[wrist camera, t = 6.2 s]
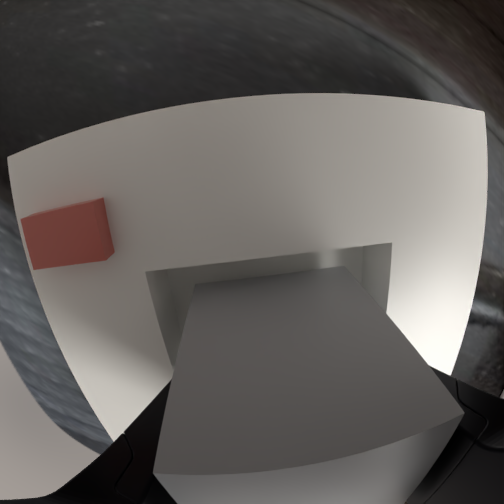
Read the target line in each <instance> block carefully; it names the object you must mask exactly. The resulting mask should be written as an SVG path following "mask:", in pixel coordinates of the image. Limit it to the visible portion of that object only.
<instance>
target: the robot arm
mask: <svg viewBox="0 0 504 504" xmlns="http://www.w3.org/2000/svg"><path fill="white" fill-rule="evenodd" d="M430 368H431V369H432V370H433V371H434V373H435V374H436V375H437V377H438V378H439V379H440V380H441V382H442V383H443V384H444V386H445V387H446V388H447V390H448V391H449V392H450V394H451V395H452V396H453V398H454V399H455V400H456V402H457V403H458V404H459V406H460V407H461V408H462V410H463V411H464V415H463V417H462V419H461V421H460V423H459V424H458V426H457V428H456V430H455V431H454V433H453V435H452V436H451V438H450V440H449V441H448V443H447V445H446V446H445V448H444V449H443V451H442V452H441V454H440V456H439V457H438V459H437V460H436V461H435V463H434V464H433V466H432V467H431V469H430V470H429V472H428V473H427V474H426V476H425V477H424V478H423V480H422V481H421V482H420V484H419V485H418V486H417V488H416V489H415V490H414V491H413V493H412V494H411V495H410V496H409V498H408V499H407V503H408V504H504V399H503V398H500V397H497V396H494V395H492V394H489V393H487V392H484V391H481V390H479V389H477V388H475V387H473V386H470V385H468V384H466V383H464V382H462V381H460V380H457V381H456V378H454V377H452V376H450V375H448V374H446V373H444V372H441V371H439V370H437V369H435V368H433V367H431V366H430ZM171 380H172V379H171ZM171 380H170V381H169V382H168V384H167V385H166V386H165V387H164V388H163V389H162V390H161V391H160V392H159V394H158V395H157V396H156V397H155V398H154V399H153V400H152V401H151V402H150V403H149V405H148V406H147V407H146V408H145V409H144V410H143V411H142V412H141V413H140V414H139V416H138V417H137V418H136V419H135V420H134V421H133V422H132V423H131V424H130V425H129V426H128V427H127V429H126V430H125V431H124V434H123V433H122V434H121V435H120V436H119V437H118V438H117V439H116V440H115V441H114V442H113V443H112V444H111V445H110V446H109V447H108V448H107V449H106V450H105V451H104V452H103V453H102V454H101V455H100V456H99V457H98V458H97V459H95V460H94V461H93V462H92V463H91V464H90V465H88V466H87V467H86V468H85V469H84V470H82V471H81V472H80V473H79V474H77V475H76V476H75V477H74V478H72V479H71V480H70V481H69V482H67V483H66V484H65V485H64V486H62V487H61V488H60V489H58V490H57V491H55V492H53V493H51V494H49V495H47V496H43V497H38V498H29V499H14V500H0V504H177V502H176V501H175V500H174V499H173V498H172V497H171V495H170V494H169V493H168V492H167V490H166V489H165V488H164V487H163V486H162V484H161V483H160V482H159V480H158V479H157V478H156V477H155V475H154V474H153V469H154V464H155V458H156V453H157V448H158V443H159V437H160V432H161V427H162V422H163V418H164V413H165V408H166V403H167V399H168V394H169V389H170V385H171Z"/></svg>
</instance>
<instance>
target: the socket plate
mask: <svg viewBox="0 0 504 504" xmlns="http://www.w3.org/2000/svg"><path fill="white" fill-rule="evenodd" d="M7 160H8V169H9V177H10V184H11V190H12V196H13V202H14V207H15V212H16V217H17V222H18V226H19V231H20V235H21V239H22V243H23V247H24V250H25V254H26V258H27V261H28V265H29V268H30V271H31V274H32V277H33V281H34V284H35V287H36V289H37V292H38V295H39V298H40V301H41V303H42V306H43V309H44V311H45V314H46V316H47V319H48V321H49V324H50V326H51V329H52V331H53V333H54V336H55V338H56V340H57V342H58V345H59V347H60V349H61V351H62V353H63V355H64V357H65V359H66V361H67V364H68V366H69V367H70V369H71V371H72V373H73V375H74V377H75V379H76V381H77V383H78V385H79V386H80V388H81V390H82V392H83V394H84V395H85V397H86V399H87V400H88V402H89V404H90V406H91V407H92V409H93V411H94V412H95V414H96V415H97V417H98V419H99V420H100V422H101V423H102V425H103V426H104V428H105V429H106V431H107V432H108V434H109V435H110V437H111V438H112V440H113V441H115V440H116V439H117V438H118V437H119V436H120V435H121V434H122V433H123V434H124V431H125V430H126V429H127V427H128V426H129V425H130V424H131V423H132V422H133V421H134V420H135V419H136V418H137V417H138V416H139V414H140V413H141V412H142V411H143V410H144V409H145V408H146V407H147V406H148V405H149V403H150V402H151V401H152V400H153V399H154V398H155V397H156V396H157V395H158V394H159V392H160V391H161V390H162V389H163V388H164V387H165V386H166V385H167V384H168V382H169V381H170V380H171V379H172V376H173V372H174V367H175V363H176V359H177V354H178V350H179V346H180V342H181V338H182V334H183V330H184V326H185V322H186V318H187V314H188V310H189V306H190V302H191V298H192V294H193V291H194V287H195V284H200V283H209V282H218V281H227V280H235V279H244V278H252V277H261V276H269V275H277V274H285V273H293V272H301V271H308V270H316V269H323V268H331V267H338V266H345V267H346V268H347V270H348V271H349V272H350V273H351V274H352V275H353V276H354V277H355V278H356V280H357V281H358V282H359V283H360V284H361V285H362V286H363V287H364V289H365V290H366V291H367V292H368V293H369V294H370V295H371V296H372V298H373V299H374V300H375V301H376V302H377V303H378V305H379V306H380V307H381V308H382V309H383V310H384V312H385V313H386V314H387V315H388V316H389V317H390V319H391V320H392V321H393V322H394V323H395V324H396V326H397V327H398V328H399V329H400V330H401V332H402V333H403V334H404V335H405V336H406V338H407V339H408V340H409V341H410V343H411V344H412V345H413V346H414V347H415V349H416V350H417V351H418V352H419V354H420V355H421V356H422V357H423V359H424V360H425V361H426V362H427V364H428V365H429V366H431V367H433V368H435V369H437V370H439V371H441V372H444V373H446V374H448V375H451V373H452V370H453V367H454V364H455V361H456V358H457V355H458V352H459V349H460V346H461V343H462V340H463V336H464V333H465V329H466V326H467V322H468V318H469V314H470V310H471V306H472V302H473V298H474V293H475V288H476V283H477V278H478V273H479V267H480V261H481V254H482V247H483V239H484V230H485V219H486V205H487V176H488V166H487V137H486V124H485V113H484V112H483V111H479V110H474V109H470V108H465V107H460V106H455V105H450V104H444V103H438V102H432V101H425V100H418V99H410V98H401V97H391V96H379V95H365V94H341V93H298V94H274V95H259V96H247V97H236V98H227V99H219V100H211V101H204V102H197V103H191V104H185V105H179V106H173V107H168V108H163V109H158V110H153V111H148V112H144V113H139V114H135V115H131V116H127V117H123V118H119V119H115V120H111V121H107V122H104V123H100V124H97V125H93V126H90V127H87V128H83V129H80V130H77V131H74V132H71V133H68V134H65V135H62V136H59V137H56V138H54V139H51V140H48V141H45V142H43V143H40V144H37V145H35V146H32V147H30V148H27V149H25V150H23V151H20V152H18V153H16V154H13V155H11V156H9V157H7Z"/></svg>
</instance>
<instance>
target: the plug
mask: <svg viewBox="0 0 504 504" xmlns="http://www.w3.org/2000/svg"><path fill="white" fill-rule="evenodd" d="M463 415H464V411H463V410H462V408H461V407H460V406H459V404H458V403H457V402H456V400H455V399H454V398H453V396H452V395H451V394H450V392H449V391H448V390H447V388H446V387H445V386H444V384H443V383H442V382H441V380H440V379H439V378H438V377H437V375H436V374H435V373H434V371H433V370H432V369H431V368H430V366H429V365H428V364H427V362H426V361H425V360H424V359H423V357H422V356H421V355H420V354H419V352H418V351H417V350H416V349H415V347H414V346H413V345H412V344H411V343H410V341H409V340H408V339H407V338H406V336H405V335H404V334H403V333H402V332H401V330H400V329H399V328H398V327H397V326H396V324H395V323H394V322H393V321H392V320H391V319H390V317H389V316H388V315H387V314H386V313H385V312H384V310H383V309H382V308H381V307H380V306H379V305H378V303H377V302H376V301H375V300H374V299H373V298H372V296H371V295H370V294H369V293H368V292H367V291H366V290H365V289H364V287H363V286H362V285H361V284H360V283H359V282H358V281H357V280H356V278H355V277H354V276H353V275H352V274H351V273H350V272H349V271H348V270H347V268H346V267H345V266H338V267H331V268H323V269H316V270H308V271H301V272H293V273H285V274H277V275H269V276H261V277H252V278H244V279H235V280H227V281H218V282H209V283H200V284H195V287H194V291H193V294H192V298H191V302H190V306H189V310H188V314H187V318H186V322H185V326H184V330H183V334H182V338H181V342H180V346H179V350H178V354H177V359H176V363H175V367H174V372H173V376H172V380H171V385H170V389H169V394H168V399H167V403H166V408H165V413H164V418H163V422H162V427H161V432H160V437H159V443H158V448H157V453H156V458H155V464H154V469H153V474H154V475H155V477H156V478H157V479H158V480H159V482H160V483H161V484H162V486H163V487H164V488H165V489H166V490H167V492H168V493H169V494H170V495H171V497H172V498H173V499H174V500H175V501H176V502H177V504H404V502H405V501H406V500H407V499H408V498H409V496H410V495H411V494H412V493H413V491H414V490H415V489H416V488H417V486H418V485H419V484H420V482H421V481H422V480H423V478H424V477H425V476H426V474H427V473H428V472H429V470H430V469H431V467H432V466H433V464H434V463H435V461H436V460H437V459H438V457H439V456H440V454H441V452H442V451H443V449H444V448H445V446H446V445H447V443H448V441H449V440H450V438H451V436H452V435H453V433H454V431H455V430H456V428H457V426H458V424H459V423H460V421H461V419H462V417H463Z"/></svg>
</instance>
